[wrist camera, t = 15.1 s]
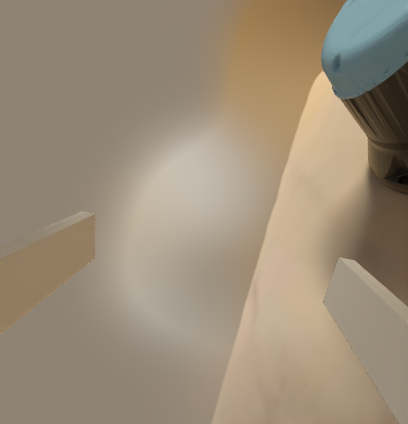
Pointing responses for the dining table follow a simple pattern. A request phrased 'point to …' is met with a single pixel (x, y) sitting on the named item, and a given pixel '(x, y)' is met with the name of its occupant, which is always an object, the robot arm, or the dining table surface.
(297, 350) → the dining table surface
